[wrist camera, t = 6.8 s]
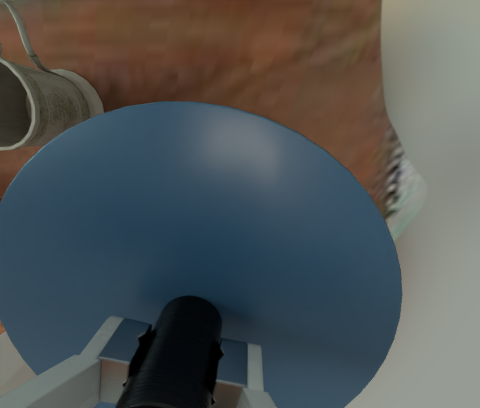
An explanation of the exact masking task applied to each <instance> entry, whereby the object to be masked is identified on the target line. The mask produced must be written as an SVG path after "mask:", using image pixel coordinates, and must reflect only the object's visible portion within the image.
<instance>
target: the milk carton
mask: <svg viewBox="0 0 480 408" xmlns="http://www.w3.org/2000/svg"><path fill="white" fill-rule="evenodd" d="M36 376H37V375H36V374H35V373H34V372H33V371H32V369H31V368H30V367H29V366H28V365H27V364H26V362H25V361H24V360H23V359H22V357H21V356H20V354H19V353H18V351H17V350H16V348H15V347H14V345H13V344H12V342H11V340H10V338H9V336H8V335H7V333H6V331H5V332H4V333H3V334H1V335H0V397H1V396H3V395H4V394H6V393H8V392H10V391H11V390H13V389H15V388H17V387H19V386H20V385H22V384H24V383H26V382H27V381H29V380H31V379H33V378H34V377H36Z"/></svg>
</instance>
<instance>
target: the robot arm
mask: <svg viewBox="0 0 480 408" xmlns="http://www.w3.org/2000/svg"><path fill="white" fill-rule="evenodd" d="M151 332H152V324H149V323H145V322H141V321H136V320H132V319H128V318H122V317H118V316H113V315H111V316H110V317H109V318H107V320H106V321H105V322H104V323H103V325H102V326H101V327H100V329H99V330H98V331H97V333H96V334H95V335H94V337H93V338H92V339H91V340H90V342H89V343H88V344H87V346H86V347H85V348H84V350H83V351H82V352H81V354H80V355H73V356H71V357H69V358H68V359H66V360H64V361H62V362H61V363H59V364H57V365H55V366H54V367H52V368H50V369H48V370H47V371H45V372H43V373H41V374H40V375H38V376H36V377H34V378H33V379H31V380H29V381H27V382H26V383H24V384H22V385H20V386H19V387H17V388H15V389H13V390H11V391H10V392H8V393H6V394H4V395H3V396H1V397H0V408H94V407H95V406H96V405H97V404H98V403H99V401H103V402H110V403H117V401H118V399H119V397H120V395H121V393H122V391H123V389H124V387H125V385H126V383H127V381H128V379H129V377H130V375H131V373H132V371H133V369H134V367H135V365H136V363H137V361H138V358H139V356H140V354H141V352H142V350H143V348H144V346H145V344H146V342H147V340H148V338H149V336H150V334H151ZM211 408H277V407H276V405H275V403H274V401H273V400H272V398H271V396H270V395H269V393H268V392H264V384H263V367H262V351H261V346H260V345H257V344H252V343H246V342H242V341H237V340H231V339H226V338H221V340H220V343H219V349H218V356H217V366H216V372H215V377H214V384H213V392H212V402H211Z"/></svg>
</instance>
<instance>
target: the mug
mask: <svg viewBox="0 0 480 408" xmlns="http://www.w3.org/2000/svg"><path fill="white" fill-rule="evenodd" d="M2 1H3V2H4V3H5V4H6V5H7V7H8V8H9V10H10V11H11V13H12V15H13V17H14V19H15V22H16V24H17V27H18V30H19V33H20V36H21V39H22V42H23V45H24V47H25V49H26V51H27V53H28V54H27V56H28V57H29V58H30V60H31V61H32V62H33V63H34V64H35V65H36V66H37V67H38V68H40V69H41V70H43V71H41V70H37V69H34V68H30V67H27V66H24V65H20V64H17V63H14V62H10V61H7V60H6V59H4V58H2V57H1V53H2V50H1V43H0V150H14V149H19V148H21V147H26V146H41V145H45V144H47V143H48V142H50V141H51V140H53V139H54V138H56V137H57V136H58V135H60V134H61V133H63V132H64V131H66V130H67V129H69V128H71V127H73V126H75V125H77V124H79V123H81V122H83V121H86V120H88V119H90V118H92V117H94V116H96V115H99V114H102V113H104V109H103V104H102V101H101V99H100V97H99V96H98V94H97V92H96V90H95V89H94V88H93V87H92V86H91V85H90V83H89V82H88V81H87V80H86V79H84V78H82V77H81V76H79V75H78V74H76V73H75V72H71V71H67V70H63V69H54V70H49V69H48V68H46V67H45V66H44V65H43V64H42V63H41V61H40V60H39V58H38V56H37V55H36V54H35V53H34V51H33V49H32V46H31V43H30V40H29V37H28V34H27V31H26V27H25V25H24V22H23V20H22V17H21V16H20V14H19V12H18V10H17V8H16V7H15V6H14V4H13V3H12V1H11V0H2ZM44 71H45V72H44Z"/></svg>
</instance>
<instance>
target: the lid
mask: <svg viewBox="0 0 480 408" xmlns="http://www.w3.org/2000/svg"><path fill="white" fill-rule="evenodd" d="M401 302H402V284H401V269H400V265H399V261H398V256H397V252H396V247H395V244H394V241H393V239H392V237H391V234H390V232H389V229H388V227H387V224H386V222H385V219H384V218H383V216H382V215H381V213H380V211H379V210H378V208H377V206H376V205H375V203H374V201H373V200H372V198H371V196H370V195H369V194H368V192H367V191H366V190H365V189H364V188H363V187H362V185H361V184H360V183H359V182H358V181H357V179H356V178H355V177H354V176H353V175H352V173H351V172H350V171H349V170H347V169H346V168H345V167H344V166H343V165H342V164H341V163H340V162H338V161H337V160H336V159H335V158H334V157H333V156H332V155H330V154H329V153H328V152H327V151H326V150H324V149H323V148H321V147H320V146H318V145H317V144H315V143H314V142H312V141H311V140H309V139H307V138H306V137H304V136H303V135H301V134H300V133H298V132H296V131H294V130H292V129H290V128H288V127H286V126H283V125H281V124H279V123H277V122H275V121H273V120H270V119H268V118H266V117H263V116H259V115H256V114H253V113H250V112H246V111H243V110H240V109H236V108H233V107H227V106H221V105H215V104H208V103H202V102H172V101H162V102H154V103H147V104H139V105H131V106H127V107H123V108H120V109H116V110H113V111H109V112H106V113H102V114H99V115H96V116H94V117H92V118H90V119H88V120H86V121H83V122H81V123H79V124H77V125H75V126H73V127H71V128H69V129H67V130H66V131H64V132H63V133H61V134H60V135H58V136H57V137H56V138H54V139H53V140H51V141H50V142H48V143H47V144H45V145H44V146H43V147H42V148H41V149H40V150H39V151H38V152H37V153H36V154H35V155H34V156H33V157H32V158H31V159H29V160H28V161H27V162H26V163H25V164H24V165H23V167H22V168H21V170H20V171H19V172H18V174H17V175H16V176H15V178H14V179H13V181H12V182H11V183H10V185H9V186H8V188H7V190H6V192H5V194H4V196H3V198H2V200H1V202H0V320H1V323H2V325H3V327H4V329H5V331H6V333H7V335H8V336H9V338H10V340H11V342H12V344H13V345H14V347H15V348H16V350H17V351H18V353H19V354H20V356H21V357H22V359H23V360H24V361H25V362H26V364H27V365H28V366H29V367H30V368H31V369H32V371H33V372H34V373H35V374H36V375H37V376H38V375H40V374H41V373H43V372H45V371H47V370H48V369H50V368H52V367H54V366H55V365H57V364H59V363H61V362H62V361H64V360H66V359H68V358H69V357H71V356H73V355H80V354H81V352H82V351H83V350H84V348H85V347H86V346H87V344H88V343H89V342H90V340H91V339H92V338H93V337H94V335H95V334H96V333H97V331H98V330H99V329H100V327H101V326H102V325H103V323H104V322H105V321H106V320H107V318H109V317H110V316H111V315H113V316H118V317H122V318H128V319H132V320H136V321H141V322H145V323H149V324H152V332H151V334H150V336H149V338H148V340H147V342H146V344H145V346H144V348H143V350H142V352H141V354H140V356H139V358H138V361H137V363H136V365H135V367H134V369H133V371H132V373H131V375H130V377H129V379H128V381H127V383H126V385H125V387H124V389H123V391H122V393H121V395H120V397H119V399H118V401H117V403H110V402H103V401H99V403H98V404H97V405H96V406H95V407H94V408H211V402H212V392H213V384H214V377H215V372H216V366H217V356H218V349H219V343H220V340H221V338H226V339H231V340H237V341H242V342H246V343H252V344H257V345H260V346H261V351H262V367H263V384H264V392H268V393H269V395H270V396H271V398H272V400H273V401H274V403H275V405H276V407H277V408H344V407H345V406H346V405H347V404H349V403H350V402H351V401H352V400H353V399H354V398H355V397H356V396H358V395H359V394H360V393H361V392H362V390H363V389H364V388H365V387H366V386H367V384H368V383H369V382H370V381H371V380H372V379H373V377H374V376H375V374H376V373H377V371H378V370H379V368H380V366H381V365H382V363H383V362H384V360H385V358H386V356H387V354H388V351H389V349H390V347H391V345H392V343H393V340H394V337H395V334H396V330H397V326H398V323H399V319H400V311H401Z"/></svg>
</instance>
